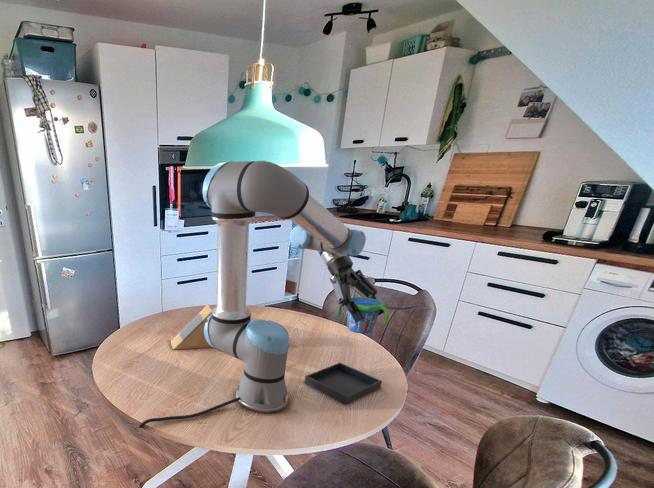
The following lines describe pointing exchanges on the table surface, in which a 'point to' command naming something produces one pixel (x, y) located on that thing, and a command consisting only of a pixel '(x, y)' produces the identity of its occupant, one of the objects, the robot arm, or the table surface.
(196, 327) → the sandwich container
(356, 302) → the snack cup
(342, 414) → the table surface
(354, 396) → the tray
